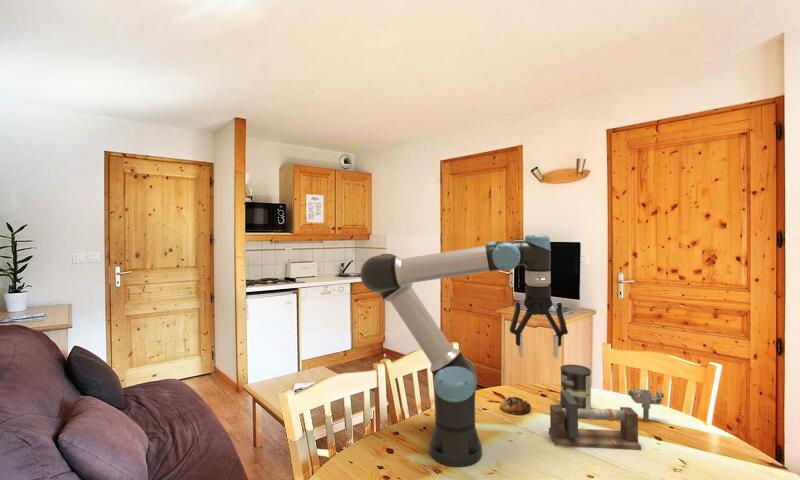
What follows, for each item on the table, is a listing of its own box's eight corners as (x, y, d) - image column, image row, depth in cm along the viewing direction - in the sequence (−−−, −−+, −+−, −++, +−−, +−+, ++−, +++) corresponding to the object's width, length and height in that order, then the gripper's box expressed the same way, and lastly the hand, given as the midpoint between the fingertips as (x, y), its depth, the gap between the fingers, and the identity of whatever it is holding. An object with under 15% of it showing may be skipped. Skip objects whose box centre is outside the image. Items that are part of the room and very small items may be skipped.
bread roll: (536, 414, 144) (534, 400, 144) (505, 420, 143) (503, 406, 143) (525, 402, 155) (522, 389, 155) (496, 408, 154) (494, 394, 154)
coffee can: (574, 415, 143) (573, 375, 143) (554, 403, 153) (554, 366, 153) (598, 410, 146) (597, 371, 146) (577, 399, 156) (577, 363, 156)
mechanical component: (664, 423, 136) (664, 393, 135) (630, 421, 138) (630, 391, 137) (660, 419, 138) (660, 390, 138) (627, 417, 141) (627, 388, 140)
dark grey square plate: (569, 437, 122) (569, 403, 122) (560, 421, 132) (560, 390, 132) (578, 437, 122) (577, 404, 121) (568, 422, 132) (568, 391, 131)
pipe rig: (556, 445, 123) (555, 413, 123) (548, 431, 132) (548, 401, 132) (641, 449, 120) (641, 416, 120) (627, 434, 129) (627, 403, 129)
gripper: (502, 286, 125) (503, 358, 125) (579, 286, 122) (579, 360, 122) (499, 282, 132) (500, 351, 132) (571, 283, 129) (572, 353, 130)
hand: (538, 356), depth 127 cm, fingers open, 10 cm apart
